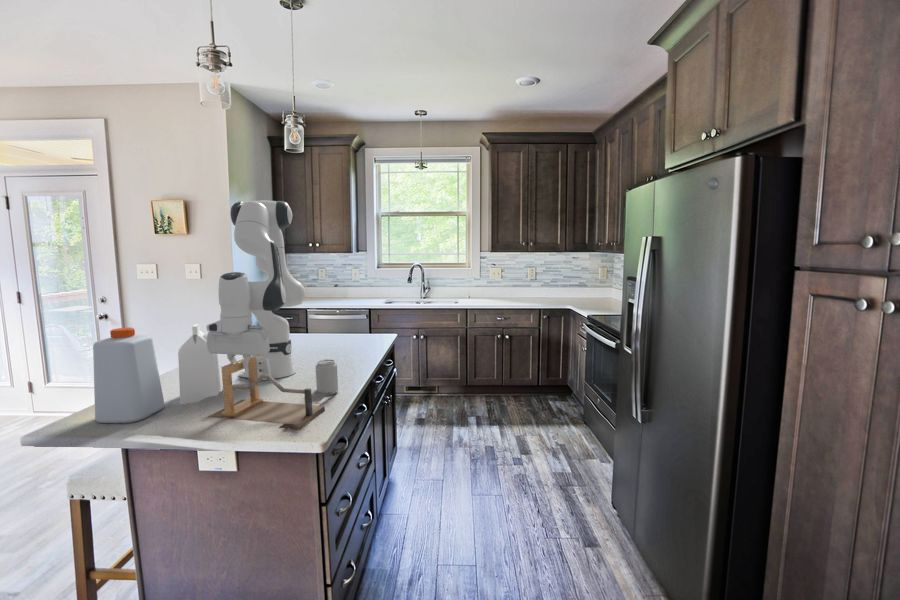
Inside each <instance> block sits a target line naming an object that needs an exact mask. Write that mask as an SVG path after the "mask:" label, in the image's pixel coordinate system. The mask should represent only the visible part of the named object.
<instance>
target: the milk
mask: <svg viewBox="0 0 900 600" xmlns="http://www.w3.org/2000/svg"><path fill="white" fill-rule="evenodd" d="M191 329H192V330H191V331H192V335H191V336H190V337H189V338H188V339H187V340H186V341H184V343H183V344H182V345H181V346H180V347H179V348H178V353H177V355H178V357H177V358H178V380H179V382H178V383H179V405H181V404H182V405H188V404H187V403H189V404H196V403H198V402H200V401H203V400H205V399H207V398H210V397H216V396H217V397H218V396H219V394H220V392H221V391H223V388H222V382H221V381H222V380H221V373H220V365H219V357H218V354H213V353H210V352H209V351H208V349H207V334H208V333H206V332H203V331H201V326H200V323H195V324H193V325H192V327H191ZM221 393H222V392H221ZM195 402H196V403H195Z"/></svg>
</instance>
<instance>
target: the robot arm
mask: <svg viewBox="0 0 900 600" xmlns="http://www.w3.org/2000/svg"><path fill="white" fill-rule="evenodd" d="M230 220H231V222H232V225H234V232H233V234H234V235H233V236H234V237H233V238H234V242H235V244H236V246H237V247H238V248H239V250H241V251H242V252H244V253H246V254H248V255H250V256H253V257H255V265H256V267H257V269H258V270H260V271H261V272H264V273H266V274H268V278H267V279H266V280H262V281H261V280H260V281H259V280H258V281H249V280H248V276H247V274H246V273H244V272H242V271H241V272H240V271H237V272H236V271H233V272H227V273H224V274H222V275H220V277H219V281H218V304H219V306H220V315H219V316H220V317H219V320H217V321H215V322H212V323H208V324H207V325H206V330H207V333H206V334H207V349H208V351H209V352H210V353H213V354H217V355H218V354H219V355H226V356H227V359H228V361H229V362H230V364H231V363H234V362H236V361H237V359H236V356H242V359H244V361H243V363H240V364H241V368H242V371H241V372H239V373H238V377H241V378H246V379H249V369H248V367H249V366H248V362H249V360H250V358H251V356H256V361H257V375H258V378H259V377H260V376H261V375H270V376H271V377H272V378H273V379H274V380H275V379H281V378H285V377H289V376H292V375H294V374H295V373H296V371H297V370H296V367H295V366H294V361H293V355H292V340H291V338H290V324H289V321H288V320H287V319H286V318H285V317H282V316H280V315H278V314H275V313H273V312H277V311H278V310H280V309H281V308H282V309H283V308H292V307H296V306H299V305H302V304H303V303H304V301H305V300H306V296H307V292H306V289H305V286H304V285H303V284H302V283H301V282H300V281H298V279H296V278H295V277H293V276H292V274H291V273H290V271H289V269H288V266H287V262H286V261H287V260H286V254H285V252H286V251H285V241H284V240H285V239H284V235H283V232H285V229H289V227H290V225H291V224H292V220H293V212H292V209H291V206H290V205H289V204H288V202H286V201H282V200H277V201H276V200H269V199H268V200H265V199H263V200H262V199H261V200H250V201H243V200H241V201H237V202H235V203H233V204H232V205H231V207H230ZM253 316H254V317H255V318H256V320H257V322H258V325H254V324H253ZM267 380H268V379H264V378H263V379H262V380H261V381H267ZM268 381H269V380H268Z"/></svg>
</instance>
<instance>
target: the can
mask: <svg viewBox="0 0 900 600" xmlns="http://www.w3.org/2000/svg"><path fill="white" fill-rule="evenodd" d="M338 377H339V376H338V364H337V362H336V360H335V359H330V358H327V359H320V360H318V361H317V362H316V365H315V382H316V392H318V393H322V394H325V393H326V394H327V393H328V394H327V395H326V397H327V396H328V397H330V396H333V395H336V393H337V392H338V391H339V381H338V380H339V378H338ZM329 395H330V396H329Z"/></svg>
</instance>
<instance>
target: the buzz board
mask: <svg viewBox="0 0 900 600" xmlns="http://www.w3.org/2000/svg"><path fill="white" fill-rule="evenodd" d="M263 378H264V379H268V381H269V382H270V383H271V384H272V385H274V386H275V387H276V388H277V389H279V391H280V392H282V393H291V394H304V403H303V404H302V403H289V402H278V401H267V400H265V401H264V400H263V403H261V404H259V405H257V406H256V407H254V408H252V409H250V410H248V411H246V412H245V413H243V414H241V415H239V416H237V417H235V418H234V417H222V416H221V412H223V411H225V407H224V408H222V409H220V410H218V411H216V412H214V413H212V414H210V415H208V416H207V418H208V417H209V418H219V419H229V420H231V419H232V420H240V421H242V420H243V421H253V422H263V423H273V424H274V423H275V424H282V425H280V426H279V427H278V429H287V428H290V429H289V430H297V429H299V430H300V429H301V428H303V427H304V426H306V425H307V424H308V423H310V422H311V421H312V420H314V419H315V418H317V417H318V416H320V415H321V414H322V413H323V412H325V411H326V409H325V407H326V406H325V405H315V404H313V398H312V397H313V396H312V395H313V394H312V393H313V392H312V388H310V387H309V388H304V389H298V388H286V387H284V386H282V385H281V384H280V383H279V382H278V381H277V380H276V379H275V378H274V379H273V378H272V377H271V376H270V375H261V376H260V377H259V378H257V379H256V380H255V381H254V382H253V383H252V384H251V385H250V384H249V385H242V384H241V385H239V384H232V387H233V390H234V389H235V390H248V391H250V390H251V389H252V388H253V387H254V386H255V385H256V384H258V385H259V383H260V382H261V381H263V380H262V379H263ZM245 400H246V399H240V400H238V401H237V402H234V406H235V405H237V404H239V403H241V402H243V401H245ZM316 416H317V417H316ZM313 418H314V419H313ZM309 421H310V422H309ZM305 424H306V425H305Z"/></svg>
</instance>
